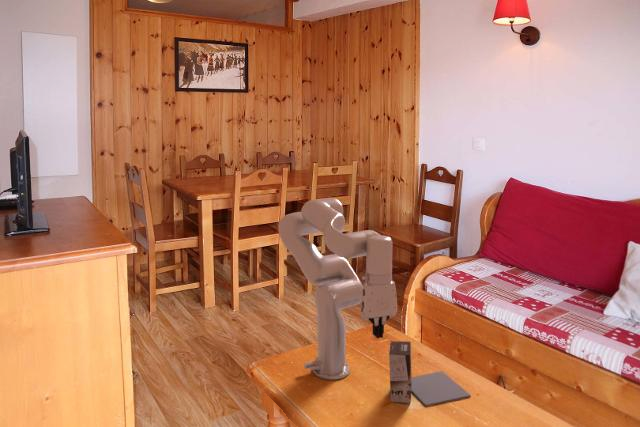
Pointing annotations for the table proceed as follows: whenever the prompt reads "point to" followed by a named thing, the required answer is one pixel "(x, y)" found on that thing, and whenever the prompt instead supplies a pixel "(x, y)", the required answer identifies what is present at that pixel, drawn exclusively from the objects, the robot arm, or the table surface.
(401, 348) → the coffee box
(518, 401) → the table surface
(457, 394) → the mat
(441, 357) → the table surface
